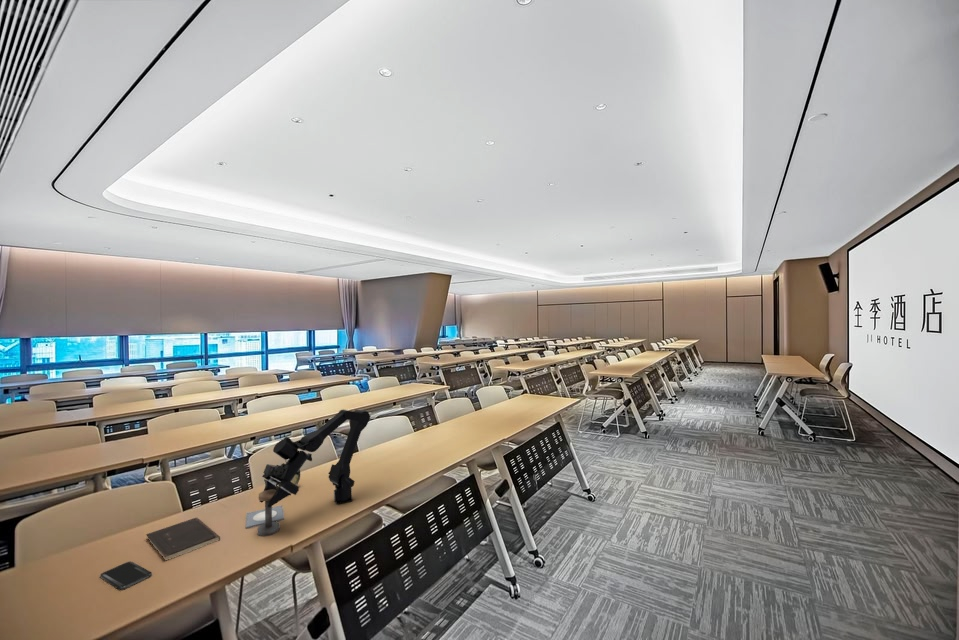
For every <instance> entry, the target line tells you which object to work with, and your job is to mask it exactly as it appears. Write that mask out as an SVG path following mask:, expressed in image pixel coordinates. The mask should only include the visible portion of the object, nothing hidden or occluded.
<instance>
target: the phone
mask: <svg viewBox="0 0 959 640" xmlns="http://www.w3.org/2000/svg"><path fill="white" fill-rule="evenodd" d="M152 576H153V572H152V571H150V570H148V569H146V568H145V567H142V566H141V565H139V564H137V563H135V562H134V561H126V562H124V563H121V564H120V565H117V566H115V567H112V568H111V569H108V570H106V571H103V572H102V573H100V575H99V577H101V578H100V579H102V580H103V579H104V580H103V581H105V582H106V581H107V582H106V583H108V584H110V585H111V586H113V587H114V588H115V589H118V590H119V591H124V590H126V589H129V588H131V587H133V586H135V585H137V584H139V583H141V582H143V581H146V580H147V579H150V578H151V577H152Z"/></svg>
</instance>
